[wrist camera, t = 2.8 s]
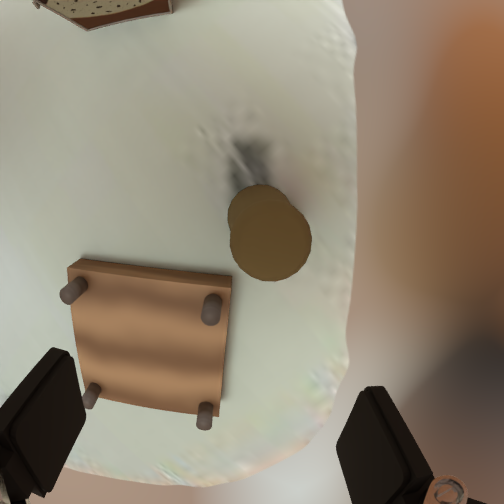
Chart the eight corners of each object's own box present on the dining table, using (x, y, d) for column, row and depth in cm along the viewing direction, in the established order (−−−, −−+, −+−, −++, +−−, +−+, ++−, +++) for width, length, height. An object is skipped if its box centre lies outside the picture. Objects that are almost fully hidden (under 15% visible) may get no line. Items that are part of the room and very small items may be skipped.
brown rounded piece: (294, 245, 30) (325, 289, 19) (231, 252, 30) (228, 300, 19) (290, 181, 28) (321, 191, 18) (224, 187, 28) (216, 201, 17)
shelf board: (80, 258, 29) (51, 278, 23) (231, 276, 30) (230, 302, 25) (94, 379, 33) (77, 410, 28) (219, 399, 34) (217, 435, 29)
